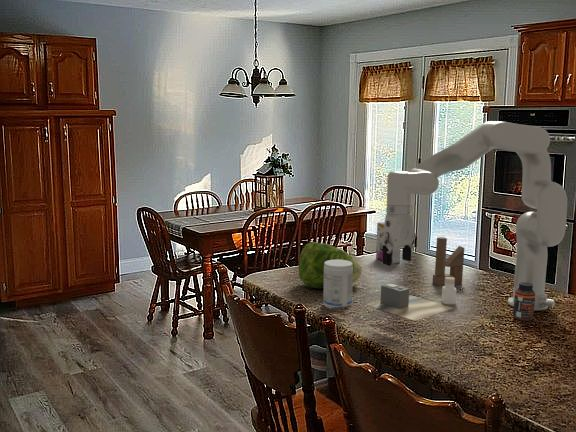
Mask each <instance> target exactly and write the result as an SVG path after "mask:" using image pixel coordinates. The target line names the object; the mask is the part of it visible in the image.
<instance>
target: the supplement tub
mask: <svg viewBox="0 0 576 432" xmlns="http://www.w3.org/2000/svg"><path fill="white" fill-rule="evenodd" d="M353 283H354V282H353V263H352V262H350V261H347V260H338V259H336V260H328V261H325V263H324V288H322V289H323V294H322V295H323V305H324V307H325V308H327V309H334V308H345V307H346V308H347V307H350V306H351V305H353V285H354V284H353Z"/></svg>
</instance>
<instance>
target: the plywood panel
mask: <svg viewBox="0 0 576 432" xmlns="http://www.w3.org/2000/svg"><path fill="white" fill-rule="evenodd" d="M380 301H381V299H380V300H375V301H372V302H369V303H366V304H365V305H366V306H369V307H372V308H375V309H378V310H380V311H383V312H387V313H389V314H392V315H396V316H399V317H402V318H405V319H408V320H411V321H413V322H417V321H419V320H422V319H426V318H429V317H432V316H435V315H438V314H442V313H444V312H447V311H450V310H454V309H455V308H454V307H451V306H447V305H446V304H441V303H438V302H435V301H431V300H427V299H424V298H423V297H422V298H421V297H418V296H415V295H412V294H411V295H410V294H409V306H408V307H406V308H402V309H397V308H394V307H391V306H388V305H385V304H382V303H380Z"/></svg>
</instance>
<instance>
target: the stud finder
mask: <svg viewBox="0 0 576 432" xmlns="http://www.w3.org/2000/svg"><path fill="white" fill-rule="evenodd" d="M409 295H410V288H407V287H405V286H400V285H398V284H394V283H392V282H390V283H385V284H382V285H380V300H381V301H380V300H379V301H380V303H382V304H385V305H388V306H391V307H394V308H397V309H402V308H406V307H408V306H409Z"/></svg>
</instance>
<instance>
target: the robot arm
mask: <svg viewBox="0 0 576 432" xmlns="http://www.w3.org/2000/svg"><path fill="white" fill-rule="evenodd" d="M550 143H551V136H550V134H549V132H548V131H547V130H546V129H544V128H543V127H540V126H534V125H527V124H519V123H513V122H509V121H508V122H507V121H502V120H501V121H499V120H497V121H496V120H494V121H493V120H490V121H485V122H483V123H481V124H480V125H478V126H477V127H475V128H473V130H471V131H469V132H468V133H467V134H465V135H464V136H463V137H462V138H460V139H458V140H456V141H455V142H454V143H453V144H451V145H449V146H448V147H445V148H444V149H442V150H440V151H438V152H437V153H434V154H433V155H431V156H429V157H427V158H425V159H424V160H423V161H421V162H420V163H418V164H416V165H415V166H414V167H412V168H411V169H410V170H409V171H405V170H393V171H392V170H391V171H390V172H388V174H387V184H386V185H387V186H386V210H385V211H386V214H385V218H384V222H385V223H384V232H383V236H382V237H381V238H380V239H379V240H378V243H379V246H380V249H381V252H383V261H381V262H382V265H385V266H388V267H389V266H392V264H391V260H392V253H390V252H391V250H392V248H393V247H402V251H401V252H402V253H401V254H402V255H401V258H402V260H403V261H408V262H411V261H412V249H413V248H414V246H413V245H414V244H415V240H416V237H417V234H416V233H415V232H414V221H413V220H414V219H413V214H412V213H411V212H412V211H411V210H412V208H411V207H412V195H422V196H429V195H432V194H433V193H435V192H436V191H437V189H438V188H439V184H440V182H439V177H441V176H443V175H445V174H448V173H451V172H454V171H460V170H463V169H465V168H468V167H469V166H471V165H472V164H474V163H475V162H476V161H478V160H479V159H480V158H482V157H483V156H485V155H486V154H487V153H490V151H492V150H494V149H495V150H503V151H507V152H514V153H516V154H517V155H518V157H519V159H520V161H521V165H522V181H521V182H522V183H521V200H522V202H523V204H524V205H525V206H527V207H529V208H532V209H536V211H527V212H524V213H523V214H521V215H520V216H518V218H517V220H516V224H515V235H516V255H515V256H516V257H515V267H514V280H513V292H512V296H511V297H509V298H508V299H507V304H508V305H510V306H511V307H513V308H514V297H515V291H516V289H518V288H519V283H520V282H527V283H531V284H533V289H532V290H533V291H534V292H535V304H534V311H538V312H539V311H545V310H547V309H548V308H550V307H551V308H554V307H555V306H556V303H555V300H554V299H549V298H548V294H547V293H545V290H546V288H545V287H546V277H547V266H548V254H549V253H548V248H550V247H555V246H558V245H559V244H560V243H561V242H562V241H563V239H564V237H565V234H566V228H567V215H568V214H567V213H568V196H567V192H566V190H565V188H564V187H563V186H562V185H561V184H559V183H557V182H555V181H552V162H551V156H550V154H549V152H548V150H547V149H548V148H549V147H550ZM387 246H389V248H387Z"/></svg>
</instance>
